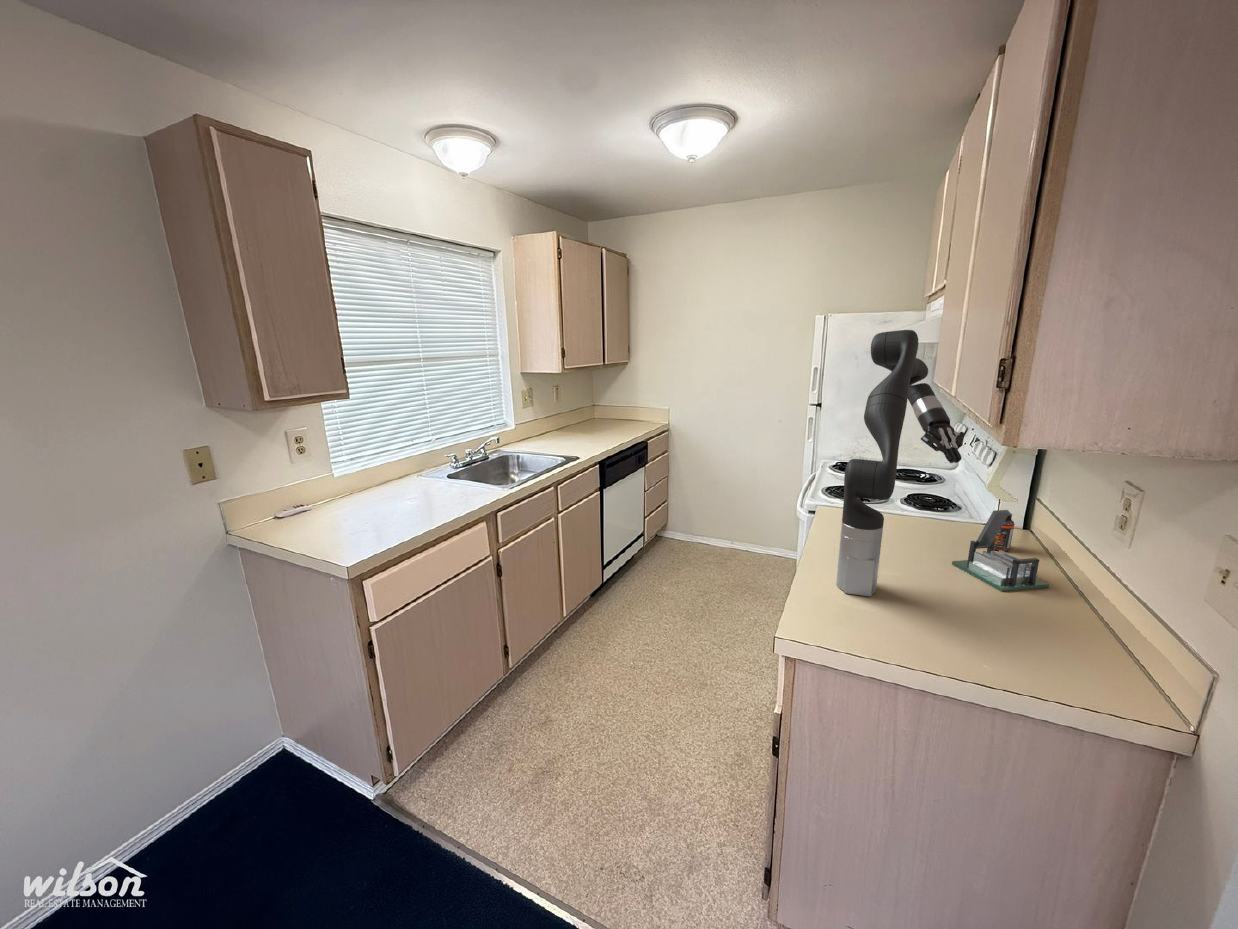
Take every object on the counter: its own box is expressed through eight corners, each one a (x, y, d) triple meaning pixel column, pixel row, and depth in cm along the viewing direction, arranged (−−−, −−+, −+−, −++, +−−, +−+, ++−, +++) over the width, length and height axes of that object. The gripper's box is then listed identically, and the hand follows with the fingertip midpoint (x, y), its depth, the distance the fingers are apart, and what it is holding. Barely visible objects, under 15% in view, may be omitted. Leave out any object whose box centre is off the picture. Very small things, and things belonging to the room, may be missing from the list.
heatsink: (951, 564, 137) (955, 539, 136) (994, 561, 139) (998, 536, 137) (1001, 591, 122) (1006, 563, 120) (1048, 587, 123) (1054, 559, 122)
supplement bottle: (983, 548, 148) (989, 512, 145) (986, 542, 152) (992, 508, 149) (1008, 553, 144) (1015, 517, 141) (1010, 547, 148) (1017, 512, 145)
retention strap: (972, 546, 136) (992, 510, 129) (985, 545, 136) (1006, 509, 129) (976, 549, 134) (996, 513, 128) (989, 548, 135) (1010, 512, 128)
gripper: (917, 407, 148) (942, 455, 139) (958, 405, 149) (986, 453, 140) (903, 422, 154) (926, 469, 145) (943, 420, 156) (968, 467, 146)
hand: (956, 461), depth 143 cm, fingers closed
